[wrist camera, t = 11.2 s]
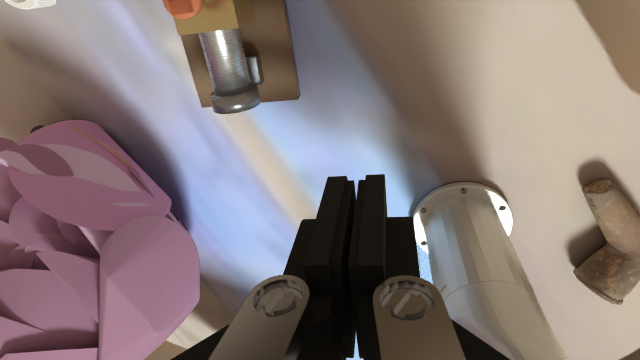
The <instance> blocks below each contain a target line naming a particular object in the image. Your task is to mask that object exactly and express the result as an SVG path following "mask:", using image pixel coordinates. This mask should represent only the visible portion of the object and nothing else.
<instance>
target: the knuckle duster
mask: <svg viewBox="0 0 640 360" xmlns="http://www.w3.org/2000/svg"><path fill="white" fill-rule="evenodd" d="M5 1H6V2H7V3H9V4H10V5H12V6H14V7H17V8H20V9H34V8H41V7H48V6H52V5H54V4H56V0H5Z"/></svg>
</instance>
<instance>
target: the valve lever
mask: <svg viewBox="0 0 640 360" xmlns="http://www.w3.org/2000/svg"><path fill="white" fill-rule="evenodd" d="M163 3H164V6H165V8H166V9H167V11H168V12H169V13H170V14H171V15H172V16H174V17H176V18H178V19H187V18H190V17H194V16H196V15H198V14H199V13H200V11H201V10H202V7H203V0H163Z"/></svg>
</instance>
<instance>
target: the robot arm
mask: <svg viewBox="0 0 640 360" xmlns="http://www.w3.org/2000/svg"><path fill="white" fill-rule="evenodd" d="M462 188H463V189H462ZM512 225H513V217H512V213H511V209H510V207H509V205H508V203H507V202H506V200H505V199H504V198H503V196H502V195H500V194H499V193H498V192H497V191H496V190H494V189H492V188H490V187H488V186H485V185H483V184H479V183H473V182H457V183H451V184H448V185H444V186H441V187H439V188H437V189H435V190H433V191H432V192H430V193H429V194H428V195H426V196H425V197H424V198H423V199H422V200H421V201H420V202H419V204H418V205H417V207H416V208H415V211H414V213H413V216H412V217H387V205H386V189H385V175H384V174H380V175H366V179H365V180H359V183H358V191H357V199H356V194H355V185H354V180H353V181H348V180H347V176H337V177H328V178H327V182H326V185H325V189H324V192H323V196H322V199H321V203H320V206H319V210H318V213H317V217H316V219H304V220H302V222H301V224H300V227H299V230H298V232H297V235H296V238H295V241H294V244H293V247H292V250H291V253H290V256H289V259H288V262H287V265H286V268H285V270H284V273H283V275H278V276H274V277H270V278H268V279H266V280H264V281H262V282H261V283H259V284H258V285H256V286H255V287H254V288H253V290H252V291H251V292H250V293H249V295H248V297H247V298H246V300H245V301H244V303H243V305H242V306H241V308H240V309H239V311H238V313H237V314H236V316H235V317H234V319H233V321H232V322H231V324H229V325H227V326H226V327H224V328H222V329H221V330H219V331H217V332H216V333H214V334H212V335H211V336H209V337H207V338H206V339H204V340H203V341H201V342H199V343H198V344H196V345H194V346H193V347H191V348H189V349H188V350H186V351H184V352H183V353H181V354H179V355H178V356H176V357H175V358H173V359H171V360H346V358H353V357H354V348H355V336H356V335H357V343H358V350H359V357H360V358H364V360H568V358H567V357H566V355H565V353H564V352H563V350H562V348H561V346H560V344H559V342H558V341H557V339H556V337H555V335H554V333H553V331H552V329H551V327H550V325H549V323H548V321H547V319H546V317H545V314H544V312H543V310H542V308H541V306H540V304H539V301H538V299H537V297H536V295H535V293H534V291H533V288H532V286H531V284H530V282H529V280H528V278H527V275H526V273H525V271H524V269H523V267H522V265H521V262H520V260H519V258H518V256H517V254H516V252H515V249H514V247H513V245H512V243H511V241H510V239H509V234H510V232H511V229H512ZM416 242H417V244H418V245H419V246H420V247H421V248H422V249H423V250H424V251H425V252H426V253H428V256H429V262H430V268H431V274H432V280H433V284H431V283H430V282H428V281H426V280H424V279H422V278H420V273H419V264H418V255H417V246H416Z"/></svg>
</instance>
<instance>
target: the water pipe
mask: <svg viewBox="0 0 640 360" xmlns="http://www.w3.org/2000/svg"><path fill="white" fill-rule="evenodd" d="M173 17H174V16H173ZM174 21H175V24H176V27H177V31H178V34H179V35H186V34H194V33H198V34H199V38H200V41H201V45H202V49H203V52H204V56H205V60H206V63H207V67H208V71H209V74H210V78H211V82H212V85H213V89H214V92H212V93H211V94H210V95H209V96H210V100H211V104H212V107H213V111H214V112H215V113H219V114H231V113H238V112H242V111H246V110H249V109H252V108H254V107H256V106H257V105H259V104H260V103H261V100H260V95H259V90H258V86H257V85H261V84H262V83H263V82H264V81H265V79H264V74H263V69H262V64H261V59H260V55H259V54H252V55H245V52H244V48H243V43H242V39H241V34H240V30H239V28H240V27H242V26H244V25H246V24H248V23H250V22H252V21H254V16H253V11H252V6H251V1H250V0H203V7H202V10H201V11H200V13H199V14H198V15H196V16H194V17H190V18H187V19H178V18H176V17H174Z"/></svg>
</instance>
